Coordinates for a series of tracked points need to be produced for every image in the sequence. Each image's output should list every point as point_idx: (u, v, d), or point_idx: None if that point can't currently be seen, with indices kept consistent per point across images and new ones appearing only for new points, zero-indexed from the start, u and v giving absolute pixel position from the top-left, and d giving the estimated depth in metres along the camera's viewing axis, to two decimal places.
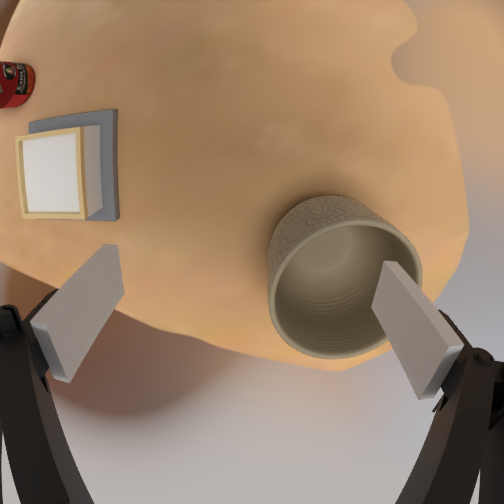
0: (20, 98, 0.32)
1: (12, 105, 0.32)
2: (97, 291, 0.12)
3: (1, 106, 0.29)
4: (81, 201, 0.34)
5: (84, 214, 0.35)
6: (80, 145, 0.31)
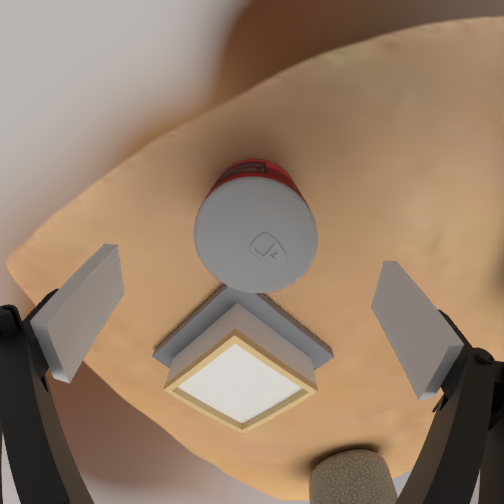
0: None
1: None
2: (97, 291, 0.12)
3: None
4: (254, 425, 0.33)
5: (246, 430, 0.34)
6: (300, 400, 0.31)
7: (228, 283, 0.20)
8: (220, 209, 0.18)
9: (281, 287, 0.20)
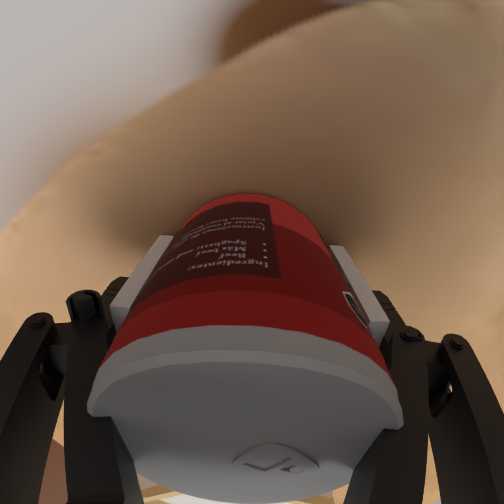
0: None
1: None
2: None
3: None
4: None
5: None
6: None
7: (192, 494, 0.07)
8: (143, 403, 0.05)
9: (301, 498, 0.07)
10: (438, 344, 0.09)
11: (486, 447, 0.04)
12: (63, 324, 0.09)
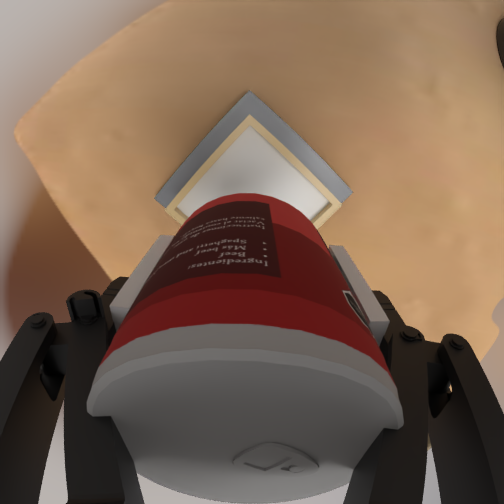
0: None
1: None
2: None
3: None
4: None
5: None
6: (324, 221, 0.29)
7: (192, 494, 0.07)
8: (143, 402, 0.05)
9: (301, 498, 0.07)
10: (438, 344, 0.09)
11: (486, 447, 0.04)
12: (63, 324, 0.09)
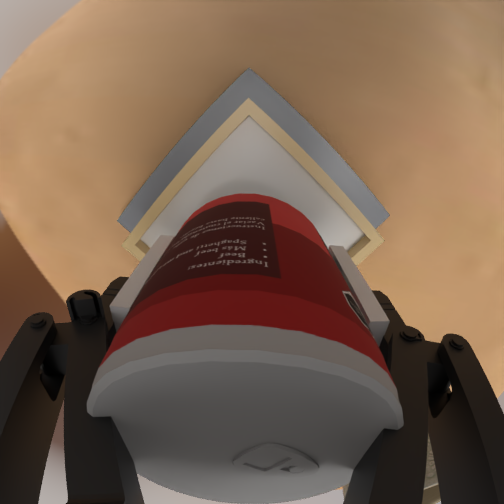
0: None
1: None
2: None
3: None
4: None
5: None
6: (356, 263, 0.19)
7: (192, 494, 0.07)
8: (143, 403, 0.05)
9: (301, 498, 0.07)
10: (438, 344, 0.09)
11: (486, 447, 0.04)
12: (63, 324, 0.09)
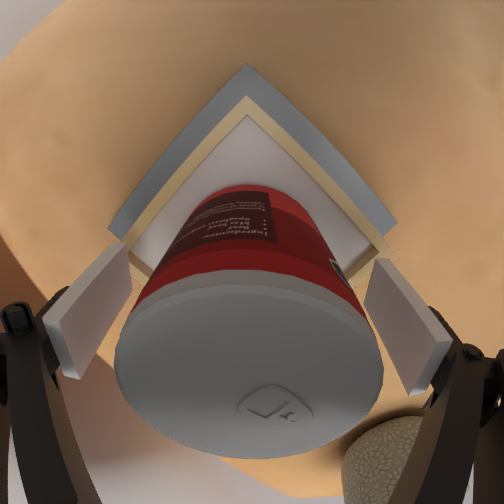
0: None
1: None
2: (107, 288, 0.12)
3: None
4: None
5: None
6: None
7: (199, 449, 0.09)
8: (165, 344, 0.07)
9: (298, 453, 0.09)
10: (494, 358, 0.08)
11: None
12: (4, 334, 0.08)
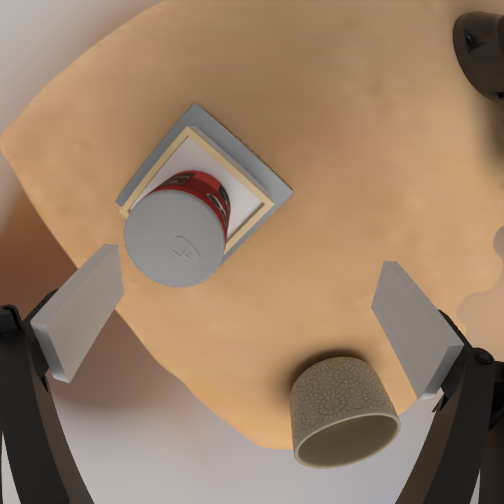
0: None
1: None
2: (97, 291, 0.12)
3: None
4: None
5: None
6: (258, 219, 0.32)
7: (154, 279, 0.23)
8: (143, 217, 0.22)
9: (198, 282, 0.23)
10: None
11: None
12: None
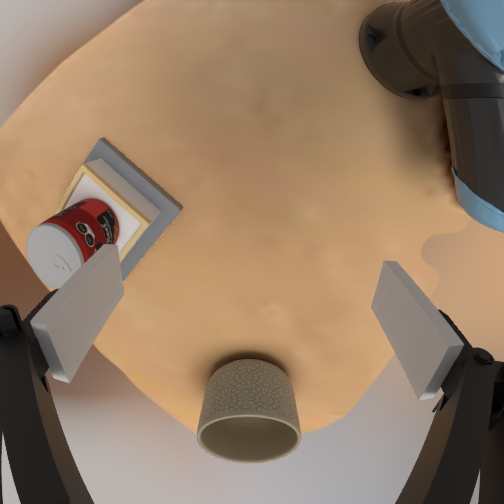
0: None
1: None
2: (97, 291, 0.12)
3: None
4: None
5: None
6: (139, 236, 0.37)
7: (47, 283, 0.28)
8: (35, 241, 0.27)
9: None
10: None
11: None
12: None
